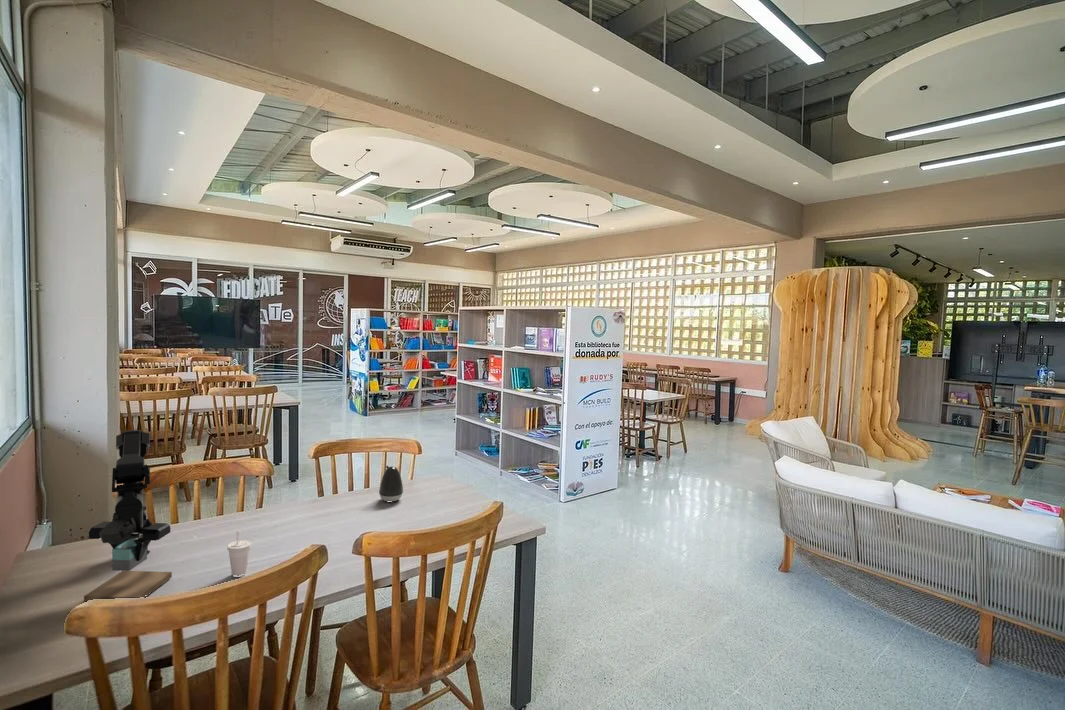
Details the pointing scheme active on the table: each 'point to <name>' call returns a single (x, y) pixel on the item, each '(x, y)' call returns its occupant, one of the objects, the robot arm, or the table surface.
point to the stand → (129, 585)
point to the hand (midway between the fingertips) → (130, 560)
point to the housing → (126, 556)
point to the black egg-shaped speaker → (391, 485)
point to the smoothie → (239, 555)
